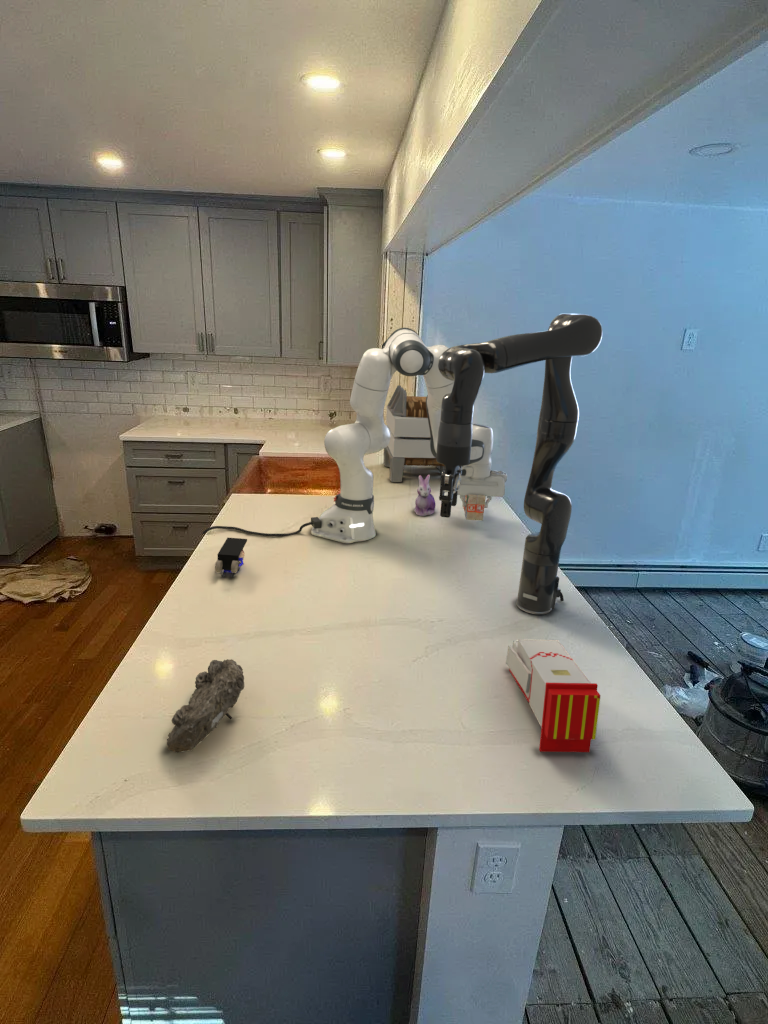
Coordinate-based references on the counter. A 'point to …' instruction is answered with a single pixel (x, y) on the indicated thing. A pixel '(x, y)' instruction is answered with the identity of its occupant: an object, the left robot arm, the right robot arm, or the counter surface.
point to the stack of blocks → (474, 507)
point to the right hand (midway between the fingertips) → (448, 510)
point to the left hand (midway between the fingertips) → (474, 506)
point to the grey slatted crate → (407, 434)
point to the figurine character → (230, 556)
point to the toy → (556, 694)
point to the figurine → (424, 498)
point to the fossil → (206, 705)
